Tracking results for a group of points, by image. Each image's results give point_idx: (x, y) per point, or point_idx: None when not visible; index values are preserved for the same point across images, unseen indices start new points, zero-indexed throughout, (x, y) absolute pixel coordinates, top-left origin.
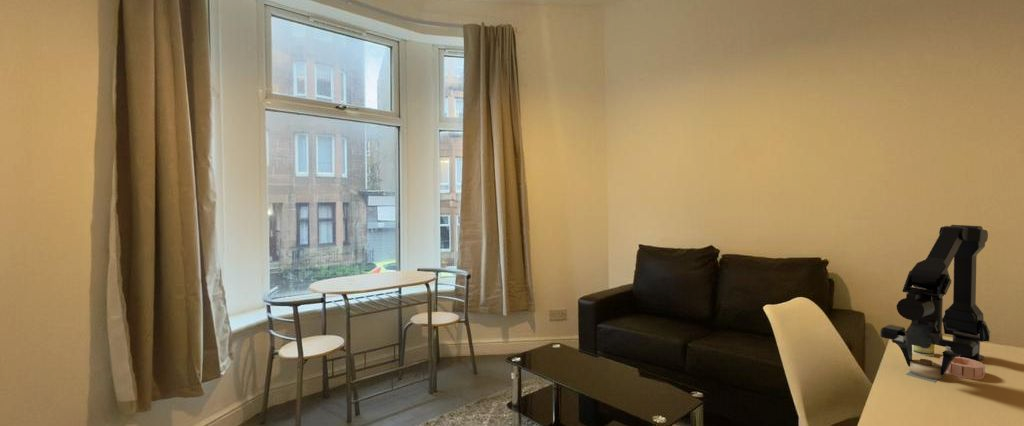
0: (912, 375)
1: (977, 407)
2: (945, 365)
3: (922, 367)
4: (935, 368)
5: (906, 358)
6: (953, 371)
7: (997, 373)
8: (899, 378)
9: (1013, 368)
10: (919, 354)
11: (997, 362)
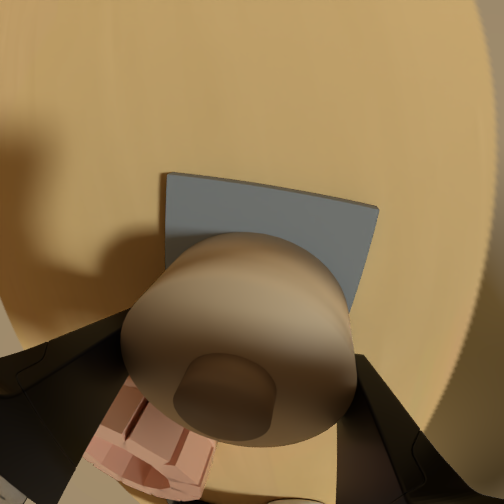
0: (327, 220)
1: (19, 5)
2: (62, 340)
3: (237, 278)
4: (141, 315)
5: (389, 400)
6: (135, 398)
7: None
8: (404, 98)
9: None
10: (302, 502)
11: (145, 493)
